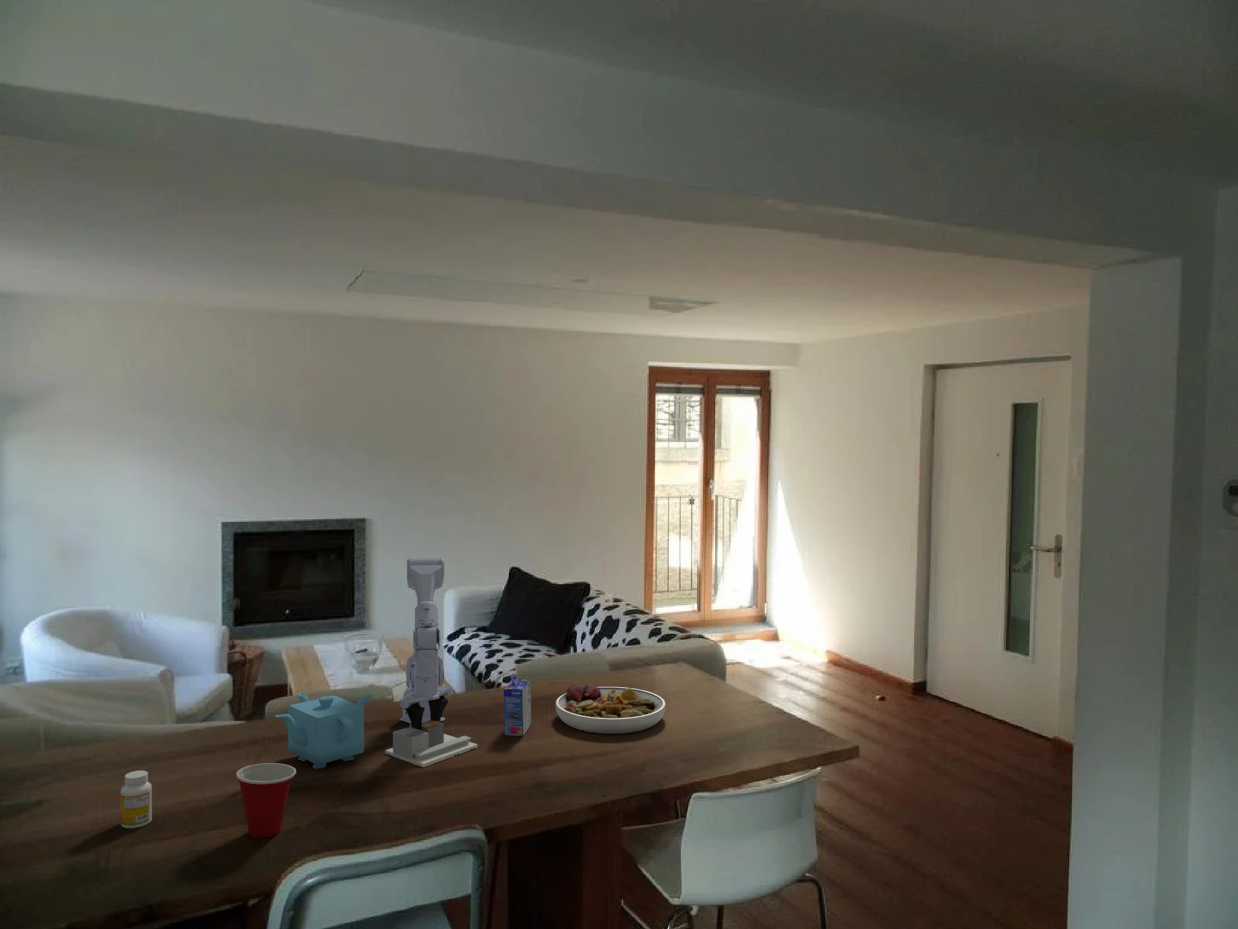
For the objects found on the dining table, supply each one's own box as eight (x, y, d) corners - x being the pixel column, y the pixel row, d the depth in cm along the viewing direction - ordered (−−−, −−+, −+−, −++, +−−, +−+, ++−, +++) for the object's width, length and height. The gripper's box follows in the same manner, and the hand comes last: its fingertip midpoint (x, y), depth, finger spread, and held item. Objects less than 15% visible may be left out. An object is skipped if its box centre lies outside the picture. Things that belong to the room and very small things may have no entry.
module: (409, 743, 219) (409, 722, 219) (425, 737, 223) (425, 717, 223) (427, 749, 215) (428, 728, 214) (443, 743, 218) (443, 723, 218)
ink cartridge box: (511, 723, 237) (511, 669, 237) (531, 724, 237) (532, 670, 236) (502, 735, 228) (503, 679, 227) (523, 736, 227) (524, 680, 227)
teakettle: (354, 773, 201) (355, 709, 200) (271, 773, 200) (271, 709, 200) (374, 745, 220) (374, 686, 219) (297, 744, 219) (298, 685, 219)
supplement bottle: (128, 817, 176) (128, 769, 176) (156, 817, 177) (156, 768, 176) (115, 829, 171) (115, 779, 171) (144, 828, 171) (144, 779, 171)
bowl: (684, 715, 247) (685, 687, 247) (628, 746, 222) (628, 715, 222) (595, 697, 263) (595, 671, 263) (533, 724, 238) (533, 695, 238)
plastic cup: (303, 835, 169) (303, 773, 169) (243, 849, 163) (243, 785, 163) (287, 815, 178) (287, 756, 178) (230, 828, 172) (230, 767, 172)
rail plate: (385, 753, 213) (385, 729, 213) (439, 735, 227) (440, 712, 227) (423, 767, 205) (423, 741, 205) (477, 747, 218) (477, 723, 218)
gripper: (413, 684, 210) (413, 741, 211) (459, 672, 222) (459, 726, 222) (394, 679, 215) (394, 735, 215) (440, 668, 226) (440, 720, 226)
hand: (425, 730), depth 219 cm, fingers open, 5 cm apart
